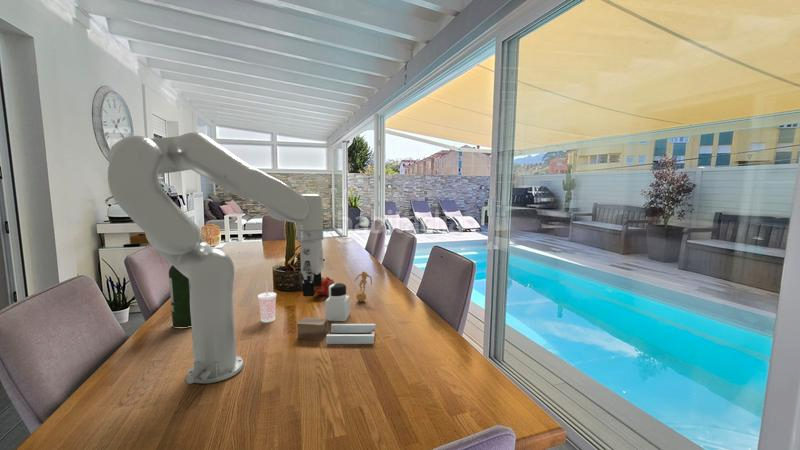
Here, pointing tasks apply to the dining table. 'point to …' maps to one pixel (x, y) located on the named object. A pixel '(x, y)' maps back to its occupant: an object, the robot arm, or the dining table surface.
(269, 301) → the beverage cup
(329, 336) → the channel
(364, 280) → the figurine
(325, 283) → the dragon fruit
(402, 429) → the dining table surface
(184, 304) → the wine bottle
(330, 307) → the medicine bottle
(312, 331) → the block
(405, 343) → the dining table surface
